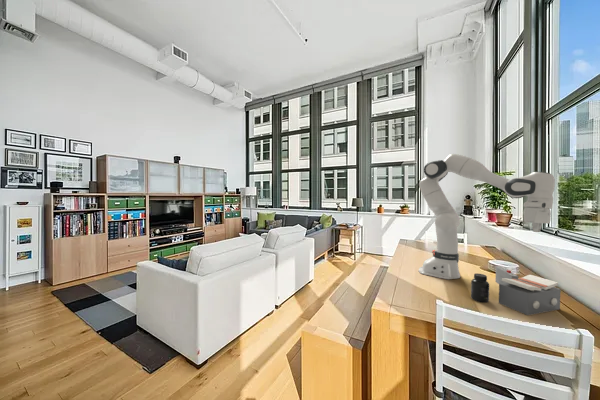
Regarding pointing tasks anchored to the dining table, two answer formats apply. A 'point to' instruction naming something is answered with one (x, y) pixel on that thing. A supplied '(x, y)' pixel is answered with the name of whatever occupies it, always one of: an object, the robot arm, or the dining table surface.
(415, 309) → the dining table surface
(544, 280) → the right rocker
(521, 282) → the left rocker
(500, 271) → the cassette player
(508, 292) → the switch console
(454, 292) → the dining table surface
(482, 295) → the supplement bottle
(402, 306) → the dining table surface
